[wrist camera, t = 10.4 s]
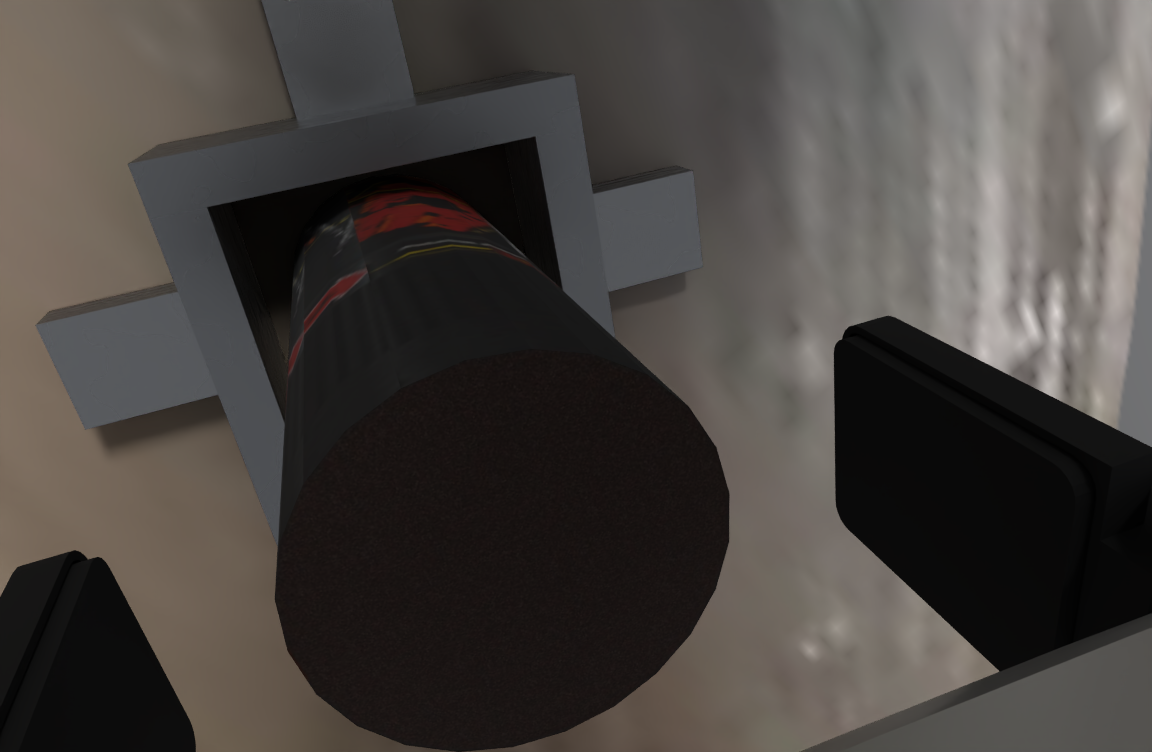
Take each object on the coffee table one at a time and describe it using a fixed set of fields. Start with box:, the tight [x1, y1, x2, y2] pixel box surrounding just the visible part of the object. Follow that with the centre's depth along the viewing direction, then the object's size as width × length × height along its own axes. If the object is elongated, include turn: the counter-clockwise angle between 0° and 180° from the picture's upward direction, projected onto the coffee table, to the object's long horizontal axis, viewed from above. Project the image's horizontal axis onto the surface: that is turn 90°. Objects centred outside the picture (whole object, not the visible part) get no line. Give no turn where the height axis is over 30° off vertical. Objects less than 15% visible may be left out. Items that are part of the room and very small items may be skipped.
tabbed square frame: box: [36, 0, 703, 546], centre depth 22 cm, size 18×18×4 cm
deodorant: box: [275, 174, 729, 752], centre depth 17 cm, size 6×6×15 cm
